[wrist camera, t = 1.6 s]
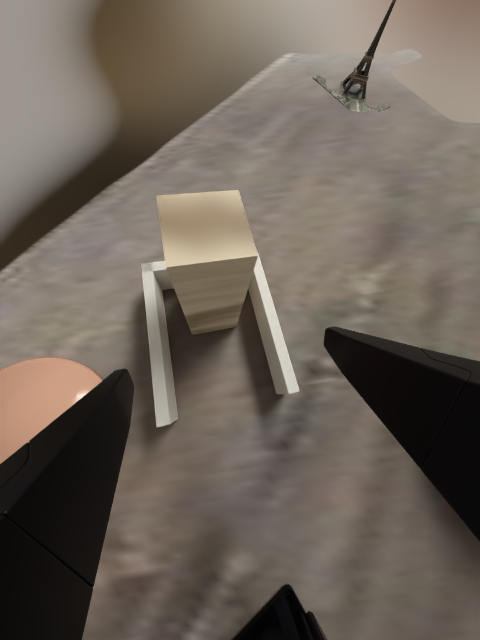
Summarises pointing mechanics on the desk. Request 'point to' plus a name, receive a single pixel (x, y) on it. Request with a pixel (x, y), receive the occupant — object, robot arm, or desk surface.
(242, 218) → the birch block
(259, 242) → the desk surface
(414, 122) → the desk surface
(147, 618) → the desk surface
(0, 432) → the terracotta pad
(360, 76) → the eiffel tower figurine
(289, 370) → the walled channel
